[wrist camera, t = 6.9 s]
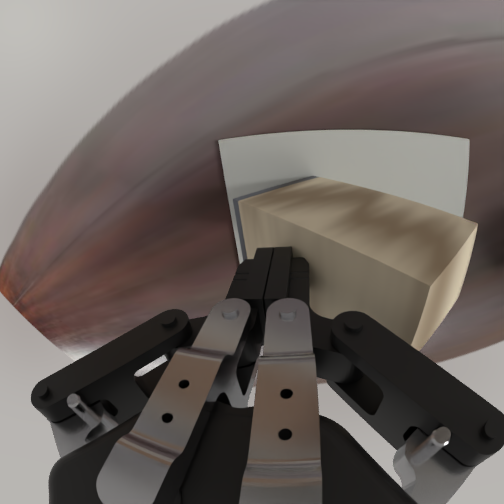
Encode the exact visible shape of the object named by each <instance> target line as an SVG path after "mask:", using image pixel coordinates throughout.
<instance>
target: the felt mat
mask: <svg viewBox="0 0 504 504" xmlns="http://www.w3.org/2000/svg"><path fill="white" fill-rule="evenodd" d="M218 142H219V148H220V154H221V160H222V166H223V171H224V177H225V183H226V189H227V195H228V200H229V206H230V212H231V217H232V223H233V228H234V234H235V240H236V245H237V251H238V256H239V261H240V264H241V263H242V262H243V257H242V251H241V245H240V239H239V234H238V228H237V222H236V216H235V210H234V204H233V199H234V198H237V197H240V196H244V195H247V194H250V193H253V192H257V191H260V190H263V189H267V188H270V187H274V186H277V185H281V184H284V183H288V182H291V181H295V180H299V179H302V178H306V177H310V176H317V177H322V178H326V179H331V180H335V181H340V182H344V183H348V184H352V185H356V186H361V187H364V188H368V189H372V190H376V191H380V192H383V193H387V194H391V195H394V196H398V197H401V198H404V199H408V200H411V201H414V202H418V203H421V204H424V205H427V206H430V207H433V208H436V209H439V210H442V211H445V212H448V213H451V214H453V215H456V216H459V217H462V218H463V213H464V206H465V199H466V190H467V180H468V167H469V139H466V138H459V137H453V136H445V135H437V134H428V133H418V132H405V131H388V130H313V131H295V132H282V133H270V134H261V135H252V136H243V137H236V138H228V139H222V140H218Z"/></svg>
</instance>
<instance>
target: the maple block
mask: <svg viewBox="0 0 504 504" xmlns="http://www.w3.org/2000/svg"><path fill="white" fill-rule="evenodd" d="M233 204H234V210H235V216H236V222H237V228H238V234H239V239H240V245H241V251H242V257H243V261H244V260H245V259H254V255H255V252H256V249H257V248H263V247H274V248H275V247H288V246H292V256H293V258H298V257H303V258H305V259H306V261H307V262H308V263H309V284H310V307H311V309H312V310H313V311H314V312H315V313H316V314H318V315H320V316H322V317H325V318H329V319H334V318H335V317H336V316H337V315H339V314H340V313H343V312H346V311H359V312H363V313H365V314H367V315H369V316H370V317H371V318H373V319H374V320H376V321H377V322H378V323H380V324H381V325H383V326H384V327H386V328H387V329H388V330H390V331H391V332H393V333H394V334H395V335H397V336H398V337H400V338H401V339H402V340H404V341H405V342H407V343H408V344H409V345H411V346H412V347H414V348H415V349H416V350H418V351H420V350H421V348H422V347H423V346H424V345H425V343H426V342H427V341H428V340H429V338H430V337H431V336H432V334H433V333H434V332H435V330H436V329H437V328H438V326H439V325H440V324H441V322H442V321H443V319H444V318H445V317H446V315H447V314H448V312H449V311H450V309H451V308H452V306H453V305H454V303H455V302H456V300H457V299H458V297H459V294H460V291H461V288H462V285H463V282H464V279H465V275H466V272H467V269H468V265H469V261H470V258H471V254H472V250H473V246H474V241H475V237H476V232H477V227H478V224H477V223H475V222H472V221H470V220H467V219H464V218H462V217H459V216H456V215H453V214H451V213H448V212H445V211H442V210H439V209H436V208H433V207H430V206H427V205H424V204H421V203H418V202H414V201H411V200H408V199H404V198H401V197H398V196H394V195H391V194H387V193H383V192H380V191H376V190H372V189H368V188H364V187H361V186H356V185H352V184H348V183H344V182H340V181H335V180H331V179H326V178H322V177H317V176H310V177H306V178H302V179H299V180H295V181H291V182H288V183H284V184H281V185H277V186H274V187H270V188H267V189H263V190H260V191H257V192H253V193H250V194H247V195H244V196H240V197H237V198H234V199H233Z"/></svg>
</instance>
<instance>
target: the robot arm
mask: <svg viewBox="0 0 504 504" xmlns="http://www.w3.org/2000/svg"><path fill="white" fill-rule="evenodd" d="M261 345H264V349H263V356H259V354H260V350H261ZM162 355H165V356H166V358H167V361H166V362H164V363H163V364H161V365H159V366H158V367H156V368H154V369H153V370H151V371H149V372H148V373H146V374H144V375H143V376H139V377H137V376H134V374H135V373H136V371H138V370H139V369H141V368H142V367H144V366H146V365H147V364H149V363H151V362H152V361H154V360H156V359H157V358H159V357H161V356H162ZM257 370H258V373H257ZM256 373H257V382H256V393H255V401H254V407H248V406H247V405H248V400H249V395H250V393H251V390H252V387H253V383H254V380H255V377H256ZM317 377H319V378H322V379H326V380H327V383H328V385H329V386H330V387H331V388H332V389H333V390H334V391H335V392H336V393H337V394H338V395H339V396H340V397H341V398H342V399H343V400H344V401H345V402H346V403H347V404H348V405H349V406H350V407H351V408H352V409H353V410H355V412H357V413H358V414H359V415H360V416H361V417H362V418H363V419H364V420H365V421H366V422H367V423H368V424H369V425H370V426H371V427H372V428H373V429H374V430H376V431H377V432H378V433H379V434H380V435H381V436H382V437H383V438H384V439H385V440H386V441H387V442H388V443H390V444H391V445H392V446H393V447H394V448H395V449H396V450H397V451H396V453H395V456H394V459H393V466H394V470H395V472H396V473H397V474H398V476H399V477H400V479H401V482H402V488H401V487H400V486H399V485H398V484H397V483H396V482H395V481H394V480H393V479H392V478H391V477H390V476H389V475H388V474H387V473H386V472H385V471H384V470H383V468H382V467H381V466H380V465H379V464H378V463H377V462H376V461H375V460H374V459H373V458H372V457H371V456H370V455H369V454H368V453H367V452H366V451H365V450H364V449H363V448H362V446H361V445H360V444H359V443H358V442H357V441H356V440H355V439H354V438H353V437H352V436H351V435H350V433H349V432H348V431H347V430H346V429H344V428H343V427H342V426H341V425H339V424H338V423H336V422H335V421H333V420H331V419H329V418H327V417H324V416H321V415H319V406H318V389H317ZM31 402H32V404H33V406H34V407H35V408H36V409H37V410H38V411H40V412H41V413H42V414H43V415H44V416H45V417H46V418H47V420H48V421H50V423H51V427H52V431H53V434H54V438H55V441H56V445H57V448H58V451H59V454H60V457H61V458H60V459H59V460H58V461H57V462H56V463H55V464H54V466H53V468H52V470H51V472H50V476H49V504H446V503H447V502H448V501H449V499H450V498H451V497H452V496H453V495H454V494H455V492H456V491H457V490H458V489H459V488H460V486H461V485H462V484H463V483H464V481H465V480H466V478H467V477H468V476H469V475H470V473H471V472H472V470H473V469H474V468H475V467H476V466H477V465H478V464H480V463H481V462H483V461H484V460H486V459H487V458H489V457H490V456H492V455H493V454H494V453H496V452H497V451H499V450H500V449H501V448H502V447H503V445H504V414H503V413H502V412H501V411H499V410H498V409H497V408H495V407H494V406H493V405H491V404H490V403H489V402H487V401H486V400H485V399H483V398H482V397H481V396H479V395H478V394H477V393H475V392H474V391H473V390H471V389H470V388H469V387H467V386H466V385H464V384H463V383H462V382H460V381H459V380H457V379H456V378H455V377H454V376H452V375H451V374H449V373H448V372H447V371H445V370H444V369H443V368H441V367H440V366H438V365H437V364H436V363H434V362H433V361H432V360H430V359H429V358H428V357H426V356H425V355H423V354H422V353H421V352H419V351H418V350H416V349H415V348H414V347H412V346H411V345H409V344H408V343H407V342H405V341H404V340H402V339H401V338H400V337H398V336H397V335H395V334H394V333H393V332H391V331H390V330H388V329H387V328H386V327H384V326H383V325H381V324H380V323H378V322H377V321H376V320H374V319H373V318H371V317H370V316H369V315H367V314H365V313H363V312H359V311H346V312H343V313H340V314H339V315H337V316H336V317H335V318H334V319H329V318H325V317H322V316H320V315H318V314H316V313H315V312H314V311H313V310H312V309H311V307H310V284H309V263H308V262H307V261H306V259H305V258H303V257H298V258H293V256H292V246H288V247H275V248H274V247H263V248H257V249H256V252H255V255H254V259H245V260H244V261H243V262H242V263H241V264H240V265H239V266H238V268H237V271H236V275H235V276H234V278H233V281H232V284H231V286H230V289H229V291H228V294H227V296H226V299H225V300H223V301H220V302H219V303H217V304H216V305H215V306H214V307H213V308H212V309H211V311H210V313H209V315H208V316H205V317H200V318H195V319H189V318H188V316H187V314H186V313H185V312H184V311H182V310H177V309H172V310H167V311H165V312H162V313H160V314H159V315H157V316H155V317H153V318H152V319H150V320H148V321H146V322H145V323H143V324H141V325H139V326H138V327H136V328H134V329H132V330H130V331H129V332H127V333H125V334H123V335H122V336H120V337H118V338H116V339H115V340H113V341H111V342H109V343H107V344H106V345H104V346H102V347H100V348H99V349H97V350H95V351H93V352H91V353H90V354H88V355H86V356H84V357H83V358H81V359H79V360H77V361H75V362H74V363H72V364H70V365H68V366H66V367H65V368H63V369H61V370H59V371H57V372H56V373H54V374H52V375H50V376H48V377H47V378H45V379H43V380H41V381H40V382H38V384H37V385H36V386H35V387H34V389H33V391H32V394H31Z"/></svg>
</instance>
